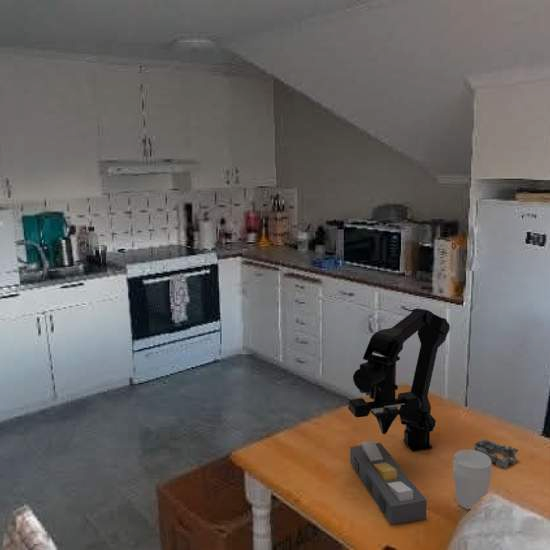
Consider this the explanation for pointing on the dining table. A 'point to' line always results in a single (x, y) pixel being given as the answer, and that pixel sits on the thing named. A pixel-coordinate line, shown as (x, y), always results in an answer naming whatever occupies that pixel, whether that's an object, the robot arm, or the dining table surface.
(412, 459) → the dining table surface
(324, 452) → the dining table surface
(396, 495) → the rocker
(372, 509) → the dining table surface
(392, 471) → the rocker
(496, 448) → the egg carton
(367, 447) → the rocker
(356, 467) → the rocker switch panel
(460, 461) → the cup
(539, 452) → the dining table surface
